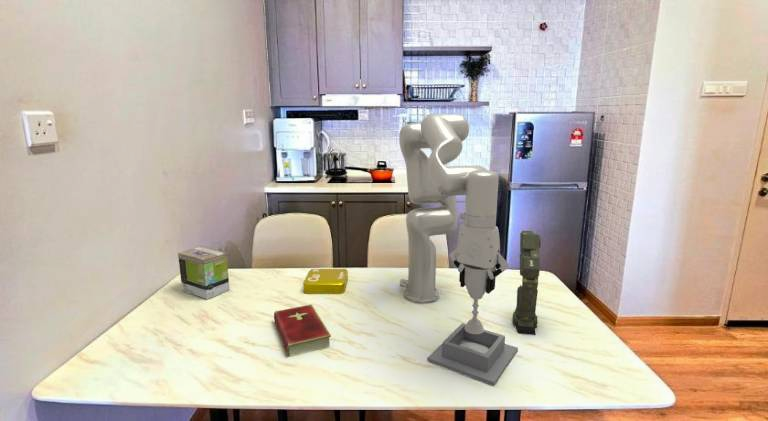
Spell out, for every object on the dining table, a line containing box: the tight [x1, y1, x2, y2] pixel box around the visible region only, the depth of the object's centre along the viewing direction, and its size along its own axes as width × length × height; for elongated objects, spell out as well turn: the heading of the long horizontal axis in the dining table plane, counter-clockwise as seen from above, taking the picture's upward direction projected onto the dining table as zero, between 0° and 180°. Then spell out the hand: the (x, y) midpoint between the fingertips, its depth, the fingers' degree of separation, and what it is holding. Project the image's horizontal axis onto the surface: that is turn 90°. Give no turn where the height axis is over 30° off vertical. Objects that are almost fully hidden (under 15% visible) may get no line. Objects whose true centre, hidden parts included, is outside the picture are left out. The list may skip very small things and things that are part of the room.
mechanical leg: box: [512, 230, 542, 336], centre depth 125 cm, size 14×7×30 cm, turn 168°
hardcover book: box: [273, 303, 332, 357], centre depth 122 cm, size 12×21×4 cm, turn 24°
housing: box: [426, 322, 519, 387], centre depth 110 cm, size 18×18×5 cm
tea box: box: [177, 246, 230, 300], centre depth 151 cm, size 15×10×15 cm, turn 58°
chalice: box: [463, 264, 489, 334], centre depth 107 cm, size 7×7×18 cm
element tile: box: [303, 268, 349, 295], centre depth 156 cm, size 15×15×5 cm
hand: (476, 287), depth 106 cm, fingers closed on chalice, 6 cm apart
